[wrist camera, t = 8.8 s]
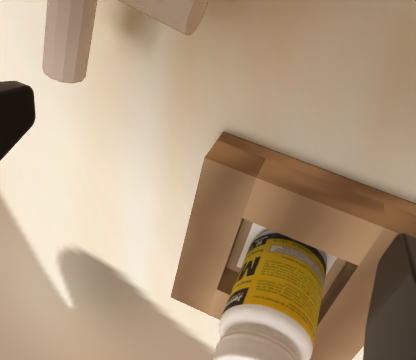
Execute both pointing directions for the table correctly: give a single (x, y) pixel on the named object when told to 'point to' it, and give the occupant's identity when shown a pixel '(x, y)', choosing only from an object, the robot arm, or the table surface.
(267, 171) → the holder
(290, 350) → the supplement bottle
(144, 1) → the pipe connector
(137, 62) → the table surface
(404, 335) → the robot arm
